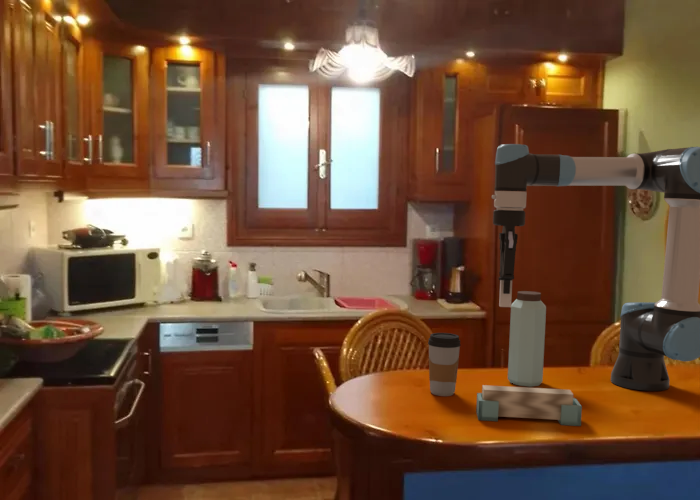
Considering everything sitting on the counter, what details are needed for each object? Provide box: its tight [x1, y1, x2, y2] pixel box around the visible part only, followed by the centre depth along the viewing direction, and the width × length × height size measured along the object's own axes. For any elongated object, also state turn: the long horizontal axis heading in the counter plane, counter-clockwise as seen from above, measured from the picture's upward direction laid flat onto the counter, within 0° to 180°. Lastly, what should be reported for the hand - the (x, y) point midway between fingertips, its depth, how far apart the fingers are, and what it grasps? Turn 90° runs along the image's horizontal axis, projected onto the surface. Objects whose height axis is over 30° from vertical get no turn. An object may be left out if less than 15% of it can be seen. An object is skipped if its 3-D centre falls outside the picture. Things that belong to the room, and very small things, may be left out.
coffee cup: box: [427, 332, 461, 397], centre depth 186 cm, size 8×8×15 cm
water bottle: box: [507, 290, 547, 388], centre depth 198 cm, size 10×10×25 cm
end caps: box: [475, 392, 583, 427], centre depth 167 cm, size 23×7×4 cm, turn 84°
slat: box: [481, 384, 574, 421], centre depth 167 cm, size 20×4×6 cm, turn 84°
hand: (505, 306), depth 176 cm, fingers closed
